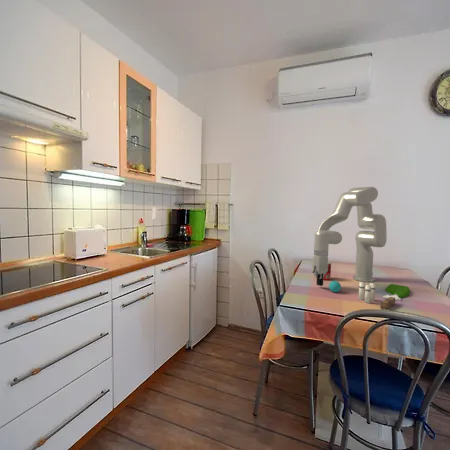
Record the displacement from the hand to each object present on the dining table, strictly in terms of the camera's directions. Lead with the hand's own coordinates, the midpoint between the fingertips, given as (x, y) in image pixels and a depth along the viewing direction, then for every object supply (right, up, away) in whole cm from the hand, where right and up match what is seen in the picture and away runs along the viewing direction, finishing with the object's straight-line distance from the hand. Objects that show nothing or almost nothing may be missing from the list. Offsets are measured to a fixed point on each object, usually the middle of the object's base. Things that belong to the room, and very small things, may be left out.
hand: (319, 285), depth 148 cm
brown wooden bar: (+22, -4, -27) cm, 35 cm away
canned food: (+10, -1, +20) cm, 22 cm away
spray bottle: (+38, -4, -9) cm, 39 cm away
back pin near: (+15, -3, -22) cm, 27 cm away
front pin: (+14, -3, -18) cm, 23 cm away
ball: (+6, +1, -7) cm, 9 cm away
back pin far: (+19, -3, -19) cm, 27 cm away
